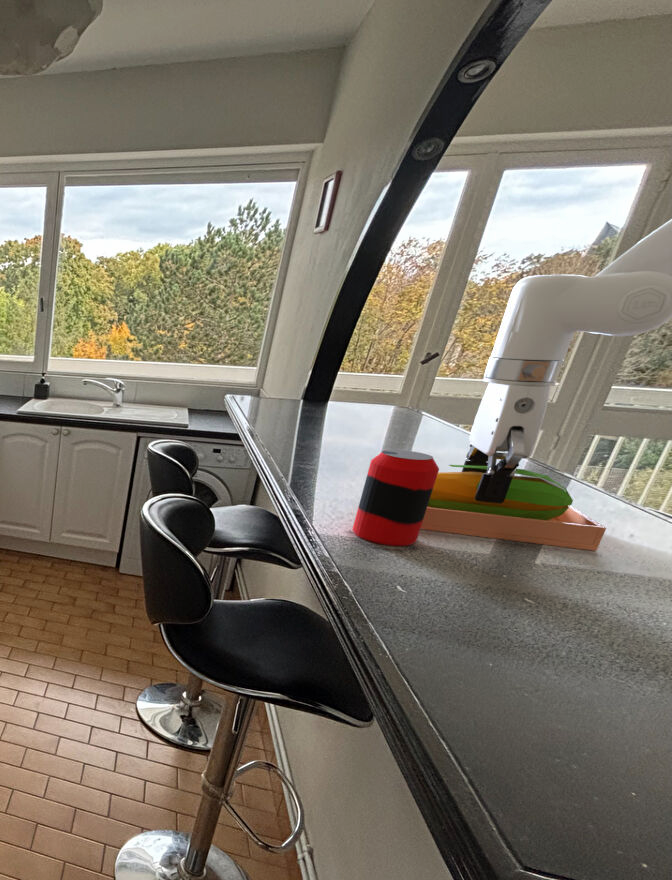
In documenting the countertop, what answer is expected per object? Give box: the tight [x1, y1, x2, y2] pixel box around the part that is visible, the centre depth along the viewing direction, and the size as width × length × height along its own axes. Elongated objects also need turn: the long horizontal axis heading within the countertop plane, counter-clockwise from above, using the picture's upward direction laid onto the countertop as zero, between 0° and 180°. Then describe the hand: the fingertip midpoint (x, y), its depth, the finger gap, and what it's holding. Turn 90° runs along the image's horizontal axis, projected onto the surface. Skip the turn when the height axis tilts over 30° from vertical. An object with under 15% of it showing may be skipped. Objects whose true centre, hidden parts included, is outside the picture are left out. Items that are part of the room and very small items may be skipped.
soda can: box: [352, 449, 440, 547], centre depth 82 cm, size 8×8×12 cm
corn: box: [428, 464, 574, 521], centre depth 88 cm, size 7×8×20 cm
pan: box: [420, 505, 607, 552], centre depth 89 cm, size 24×14×3 cm, turn 65°
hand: (479, 493), depth 88 cm, fingers closed on corn, 7 cm apart
